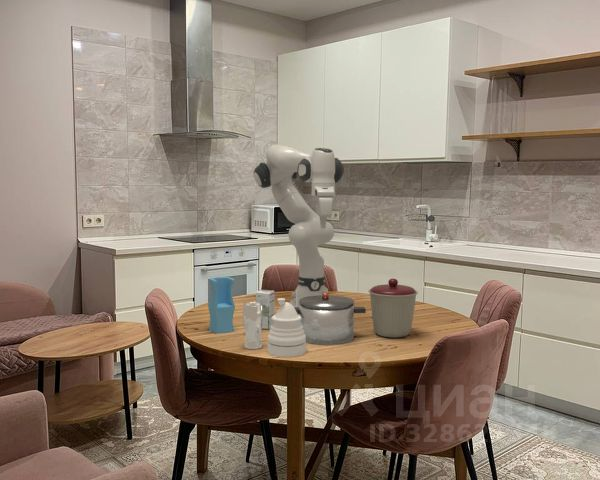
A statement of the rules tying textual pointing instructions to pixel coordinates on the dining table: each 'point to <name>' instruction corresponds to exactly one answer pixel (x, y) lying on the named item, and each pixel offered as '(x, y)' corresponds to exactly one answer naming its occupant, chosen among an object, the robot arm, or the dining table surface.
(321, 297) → the cooker lid
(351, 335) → the cooker pot
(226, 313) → the blue toy chair
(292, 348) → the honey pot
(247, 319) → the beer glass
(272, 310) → the syrup box
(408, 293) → the canister
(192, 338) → the dining table surface
